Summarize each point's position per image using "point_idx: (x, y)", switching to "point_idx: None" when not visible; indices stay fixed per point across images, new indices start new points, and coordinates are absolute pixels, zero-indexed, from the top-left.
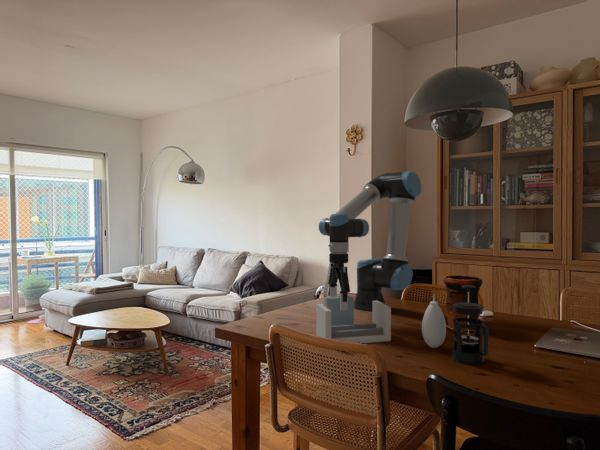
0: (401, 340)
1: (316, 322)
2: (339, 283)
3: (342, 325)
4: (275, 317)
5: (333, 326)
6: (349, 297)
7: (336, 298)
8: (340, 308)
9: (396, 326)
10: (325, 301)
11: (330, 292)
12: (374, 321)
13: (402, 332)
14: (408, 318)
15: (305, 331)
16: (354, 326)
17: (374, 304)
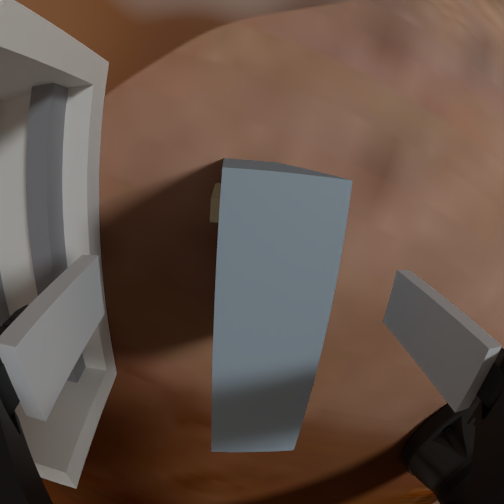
0: None
1: (76, 40)
2: (15, 481)
3: (40, 208)
4: (496, 39)
5: (34, 146)
6: (216, 428)
7: (214, 305)
8: (87, 260)
9: (184, 450)
10: (290, 170)
11: (453, 317)
12: (72, 387)
13: (104, 431)
14: (271, 492)
15: (222, 28)
16: (37, 273)
17: (41, 451)
